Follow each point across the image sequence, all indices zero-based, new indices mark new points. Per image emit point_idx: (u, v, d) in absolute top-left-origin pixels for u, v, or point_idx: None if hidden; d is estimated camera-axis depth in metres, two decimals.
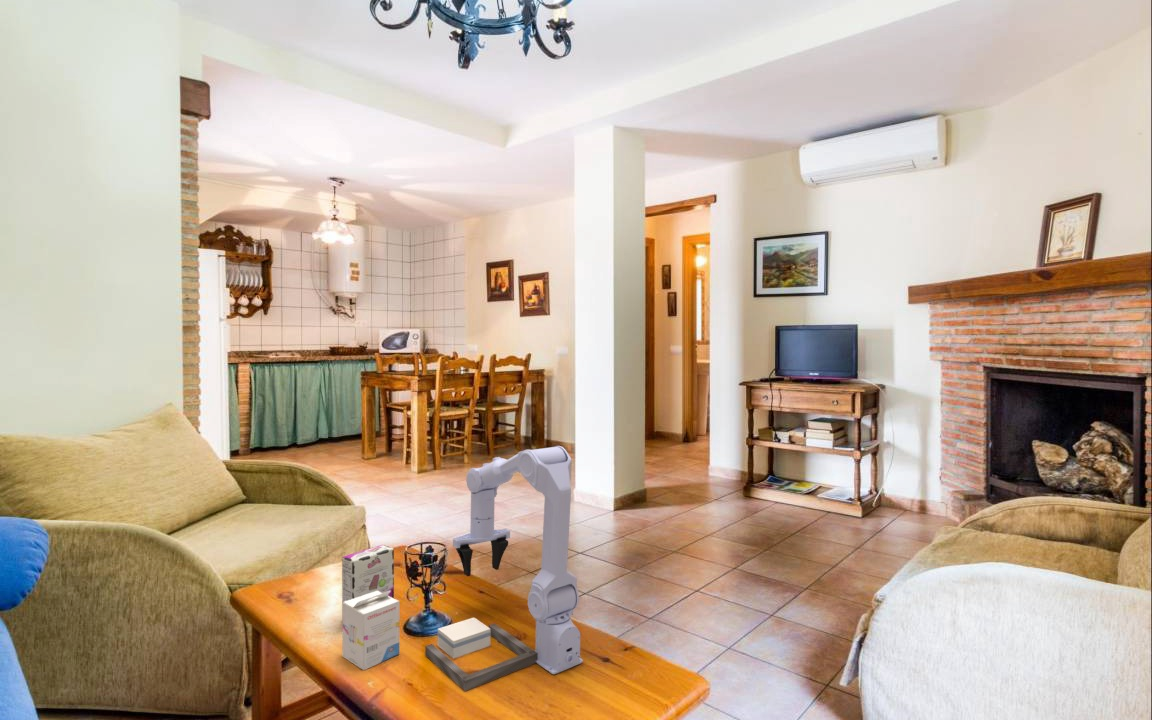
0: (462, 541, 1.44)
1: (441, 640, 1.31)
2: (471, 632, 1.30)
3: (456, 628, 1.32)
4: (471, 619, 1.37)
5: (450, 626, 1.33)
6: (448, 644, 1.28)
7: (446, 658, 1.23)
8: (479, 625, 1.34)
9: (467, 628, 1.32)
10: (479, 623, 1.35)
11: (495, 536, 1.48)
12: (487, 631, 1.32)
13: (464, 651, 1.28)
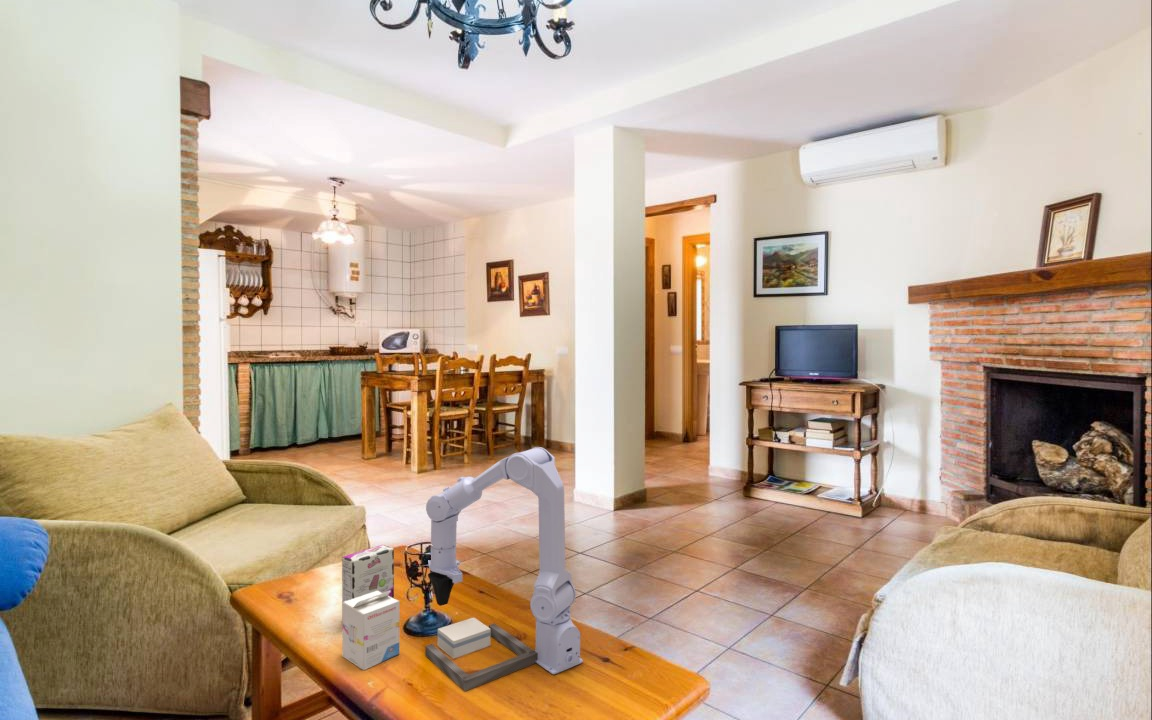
0: None
1: (441, 640, 1.31)
2: (471, 632, 1.30)
3: (456, 628, 1.32)
4: (471, 619, 1.37)
5: (450, 626, 1.33)
6: (448, 644, 1.28)
7: (446, 658, 1.23)
8: (479, 625, 1.34)
9: (467, 628, 1.32)
10: (479, 623, 1.35)
11: (438, 571, 1.36)
12: (487, 631, 1.32)
13: (464, 651, 1.28)
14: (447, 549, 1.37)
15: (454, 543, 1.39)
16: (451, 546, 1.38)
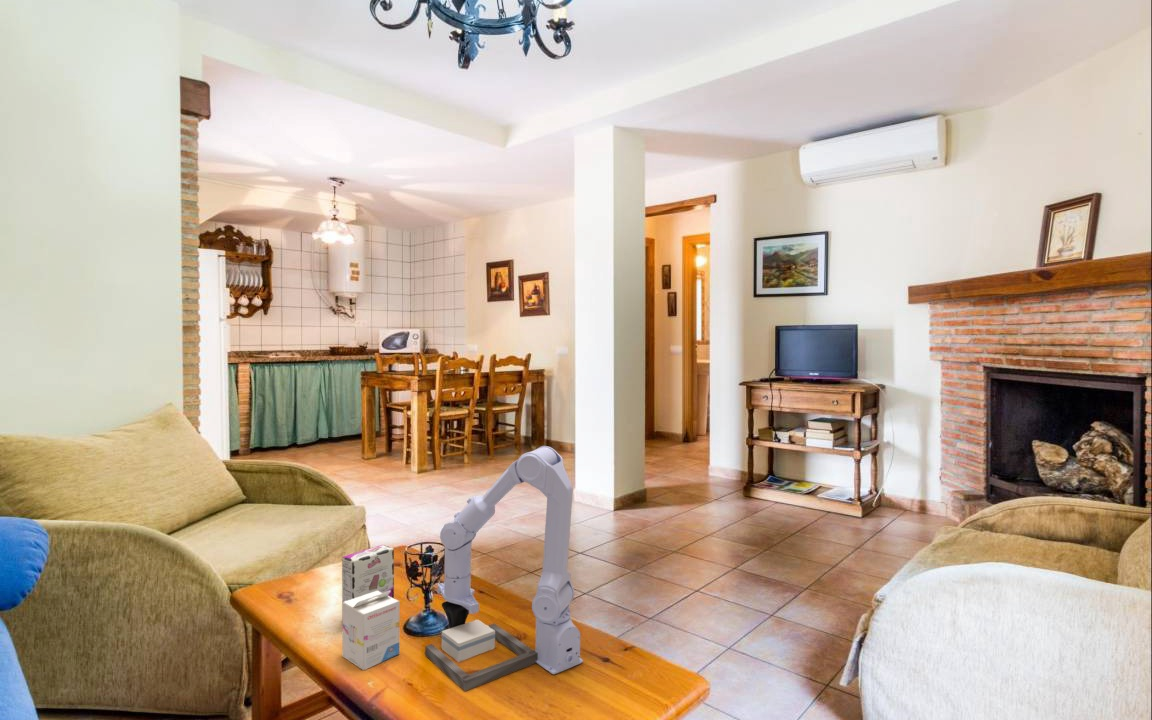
0: (439, 588, 1.38)
1: (445, 643, 1.29)
2: (476, 635, 1.29)
3: (460, 630, 1.31)
4: (475, 621, 1.35)
5: (454, 628, 1.32)
6: (453, 647, 1.27)
7: (446, 658, 1.23)
8: (483, 627, 1.33)
9: (472, 630, 1.31)
10: (483, 625, 1.34)
11: (453, 601, 1.31)
12: (492, 633, 1.31)
13: (469, 653, 1.27)
14: (462, 578, 1.32)
15: (469, 571, 1.34)
16: (467, 574, 1.33)
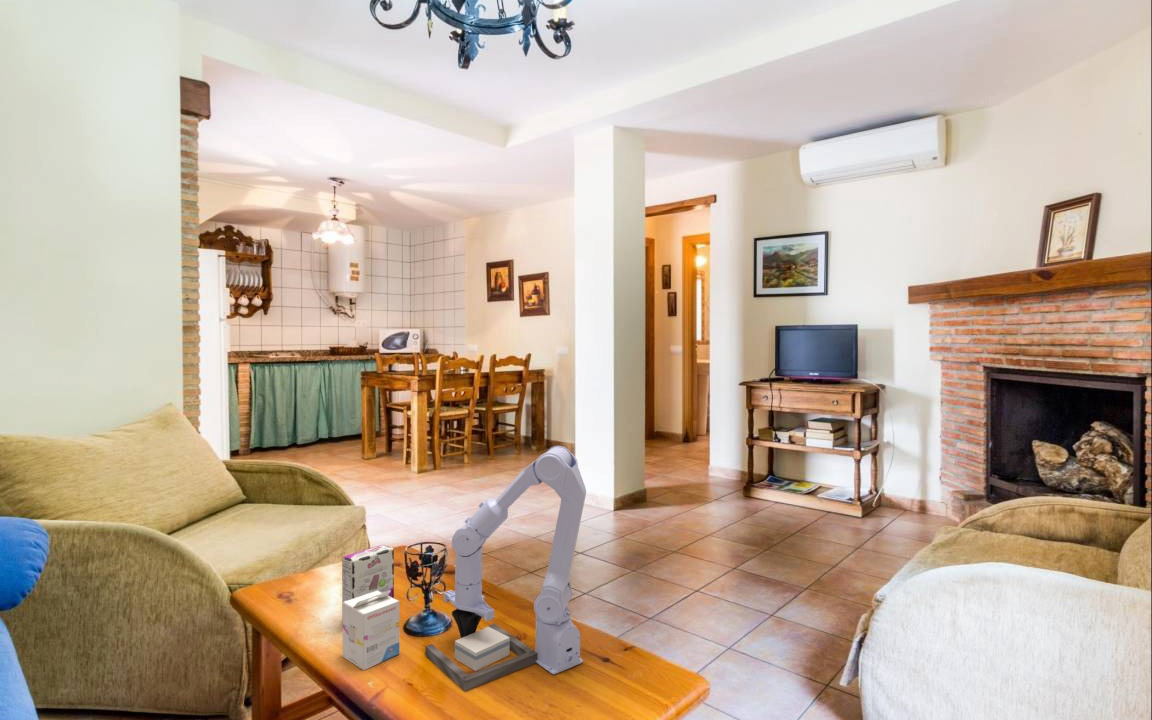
0: (447, 596, 1.34)
1: (459, 653, 1.26)
2: (491, 643, 1.26)
3: (474, 639, 1.28)
4: (486, 629, 1.32)
5: (467, 637, 1.28)
6: (469, 656, 1.23)
7: (446, 658, 1.23)
8: (497, 634, 1.30)
9: (486, 638, 1.28)
10: (496, 632, 1.31)
11: (466, 608, 1.27)
12: (507, 640, 1.28)
13: (486, 662, 1.24)
14: (475, 584, 1.29)
15: (481, 577, 1.31)
16: (479, 580, 1.30)
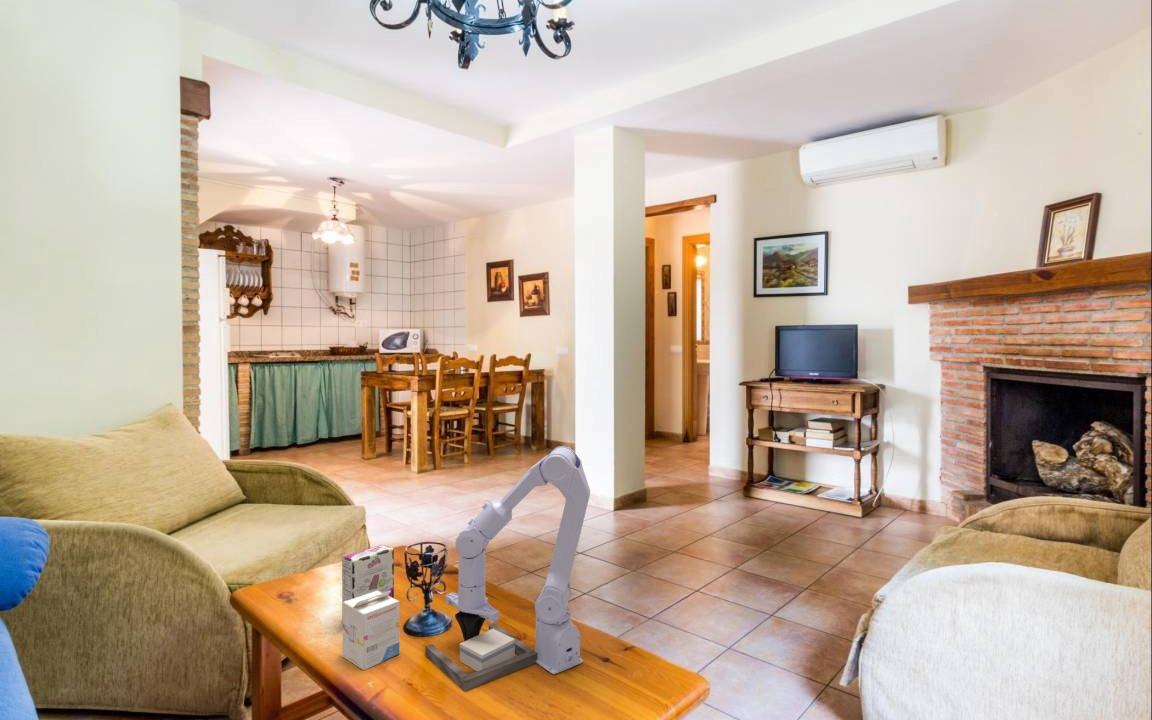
0: (449, 599, 1.32)
1: (464, 656, 1.25)
2: (497, 645, 1.25)
3: (479, 641, 1.27)
4: (491, 631, 1.31)
5: (472, 640, 1.27)
6: (475, 659, 1.22)
7: (446, 658, 1.23)
8: (502, 636, 1.29)
9: (491, 641, 1.27)
10: (501, 634, 1.30)
11: (471, 611, 1.26)
12: (512, 642, 1.27)
13: (491, 665, 1.23)
14: (479, 586, 1.28)
15: (485, 579, 1.30)
16: (483, 582, 1.29)
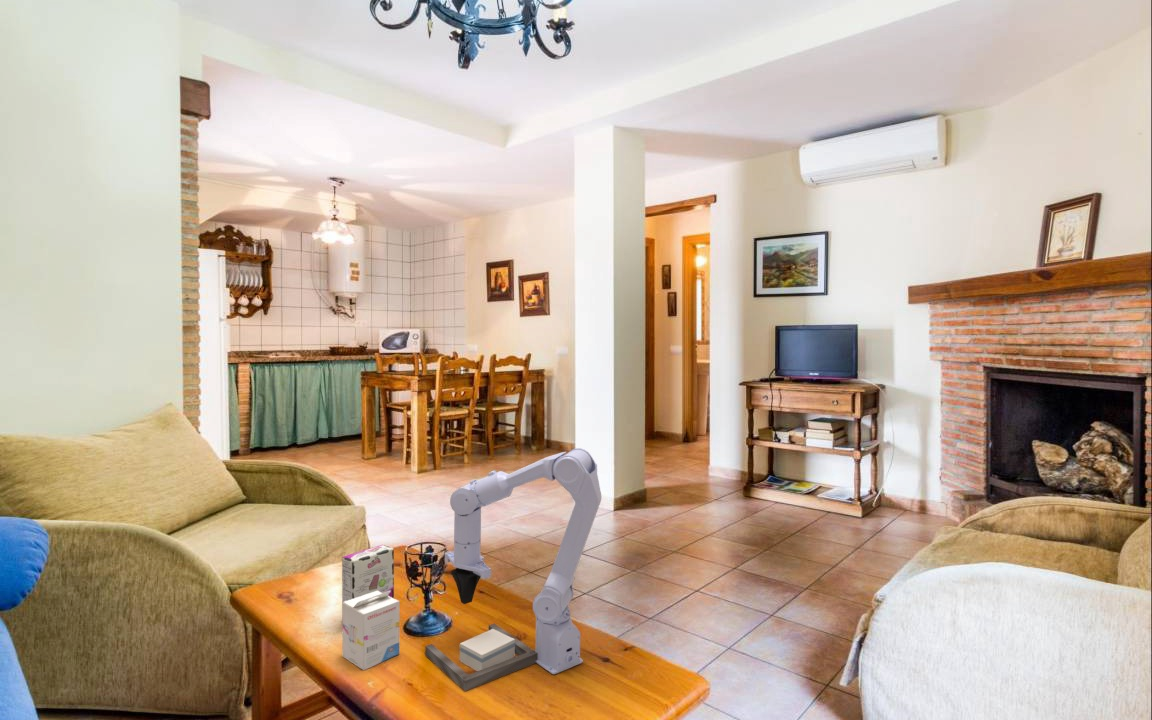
0: (447, 556, 1.35)
1: (464, 655, 1.25)
2: (497, 645, 1.25)
3: (479, 641, 1.27)
4: (491, 631, 1.31)
5: (472, 640, 1.27)
6: (474, 659, 1.23)
7: (446, 658, 1.23)
8: (502, 636, 1.29)
9: (491, 640, 1.27)
10: (501, 634, 1.30)
11: (464, 567, 1.29)
12: (512, 642, 1.27)
13: (491, 664, 1.23)
14: (473, 544, 1.30)
15: (480, 537, 1.32)
16: (477, 540, 1.31)
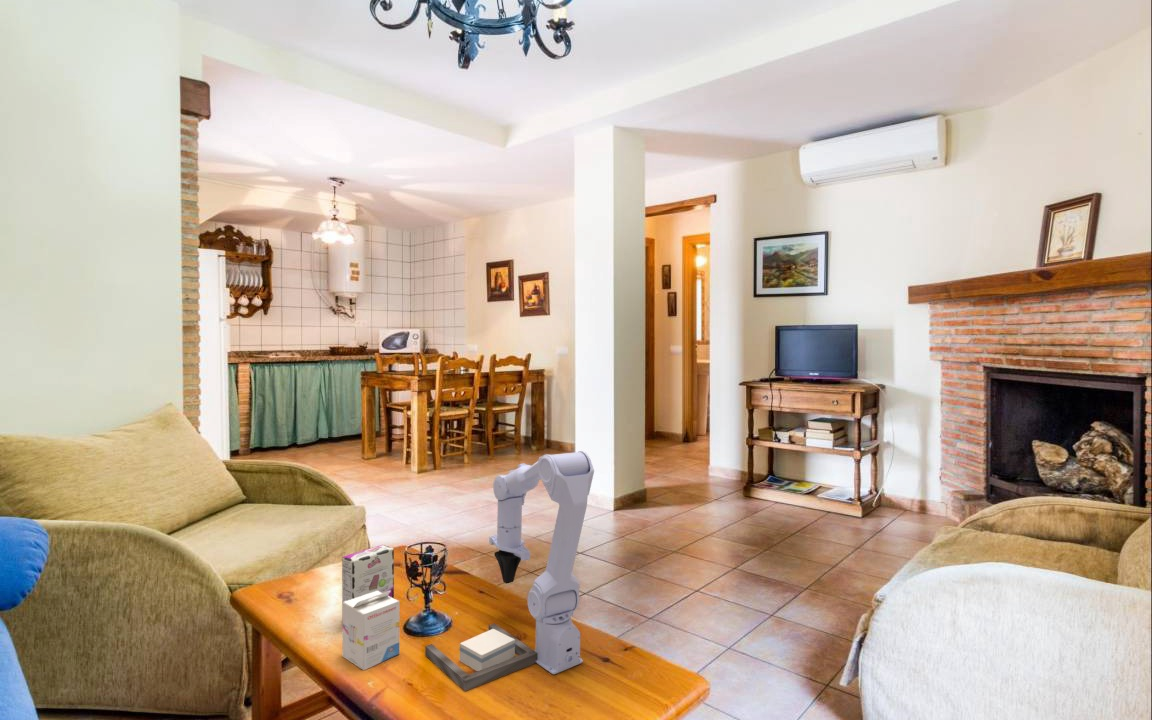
0: (491, 539, 1.47)
1: (464, 655, 1.25)
2: (496, 645, 1.25)
3: (479, 641, 1.27)
4: (491, 631, 1.31)
5: (472, 639, 1.27)
6: (474, 659, 1.23)
7: (446, 658, 1.23)
8: (502, 636, 1.29)
9: (491, 641, 1.27)
10: (501, 634, 1.30)
11: (506, 549, 1.40)
12: (512, 642, 1.27)
13: (491, 665, 1.23)
14: (514, 528, 1.41)
15: (516, 524, 1.42)
16: (512, 526, 1.41)
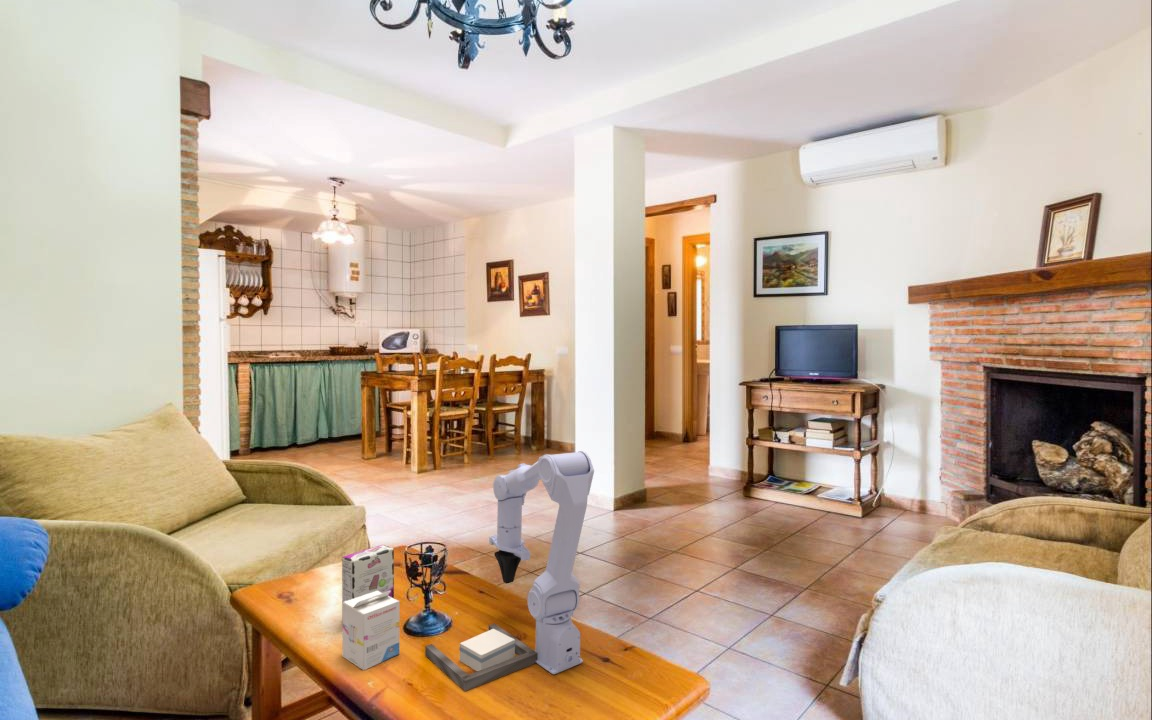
0: (491, 539, 1.47)
1: (464, 655, 1.25)
2: (496, 645, 1.25)
3: (479, 641, 1.27)
4: (491, 631, 1.31)
5: (472, 639, 1.27)
6: (474, 659, 1.23)
7: (446, 658, 1.23)
8: (502, 636, 1.29)
9: (491, 641, 1.27)
10: (501, 634, 1.30)
11: (506, 549, 1.40)
12: (512, 642, 1.27)
13: (491, 665, 1.23)
14: (514, 528, 1.41)
15: (516, 524, 1.42)
16: (512, 526, 1.41)
